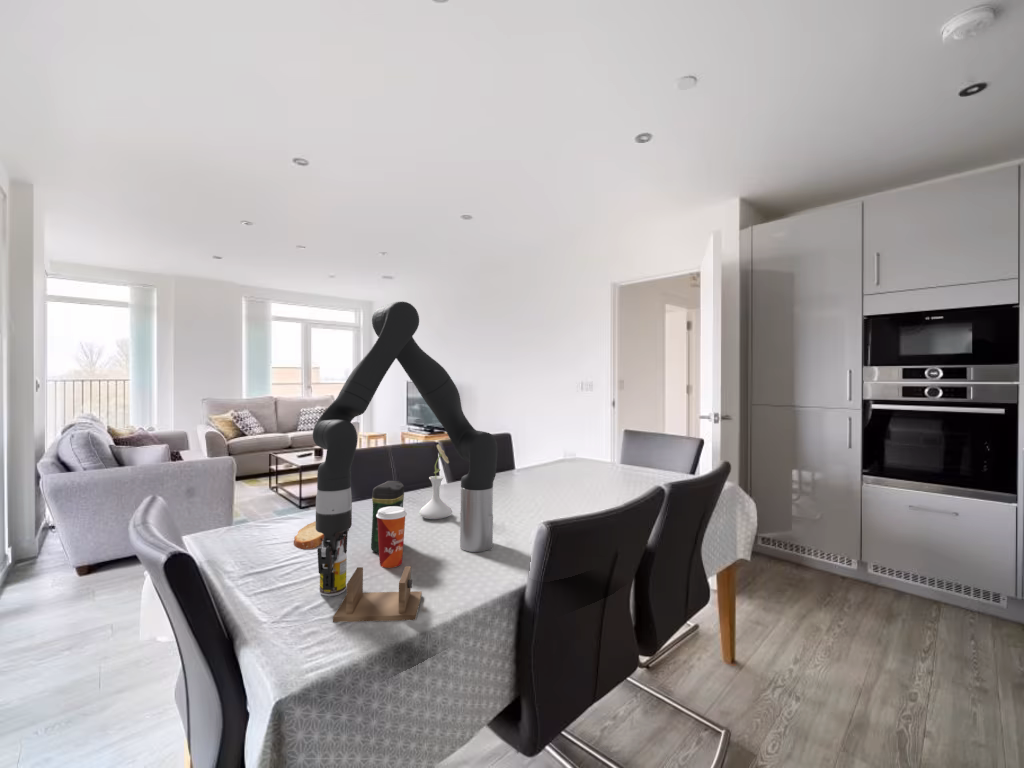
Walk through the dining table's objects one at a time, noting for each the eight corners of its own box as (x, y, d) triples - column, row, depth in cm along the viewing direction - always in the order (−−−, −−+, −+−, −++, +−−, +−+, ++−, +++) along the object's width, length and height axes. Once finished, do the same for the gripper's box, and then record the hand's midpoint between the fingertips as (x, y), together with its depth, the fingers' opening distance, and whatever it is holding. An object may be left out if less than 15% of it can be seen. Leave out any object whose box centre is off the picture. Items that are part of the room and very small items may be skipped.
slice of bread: (300, 552, 124) (300, 539, 124) (281, 535, 137) (281, 523, 137) (363, 538, 136) (363, 525, 136) (340, 523, 149) (340, 512, 149)
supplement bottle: (313, 595, 99) (314, 548, 99) (331, 584, 104) (331, 540, 104) (335, 599, 97) (335, 552, 97) (351, 588, 102) (352, 543, 102)
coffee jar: (394, 555, 122) (395, 487, 122) (367, 553, 123) (367, 485, 123) (407, 542, 132) (407, 479, 131) (381, 540, 132) (381, 478, 132)
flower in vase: (449, 522, 150) (450, 448, 150) (415, 521, 150) (416, 447, 150) (455, 511, 163) (455, 442, 163) (423, 510, 164) (424, 442, 163)
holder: (421, 595, 99) (421, 564, 99) (415, 619, 89) (415, 584, 89) (347, 597, 98) (347, 565, 98) (332, 622, 88) (333, 586, 88)
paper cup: (390, 572, 111) (390, 515, 111) (369, 565, 115) (369, 510, 115) (412, 561, 118) (413, 508, 118) (392, 555, 122) (392, 503, 122)
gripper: (341, 517, 94) (340, 598, 94) (359, 499, 108) (358, 569, 108) (304, 517, 93) (303, 598, 93) (327, 499, 107) (326, 569, 108)
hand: (333, 582), depth 101 cm, fingers closed on supplement bottle, 5 cm apart
